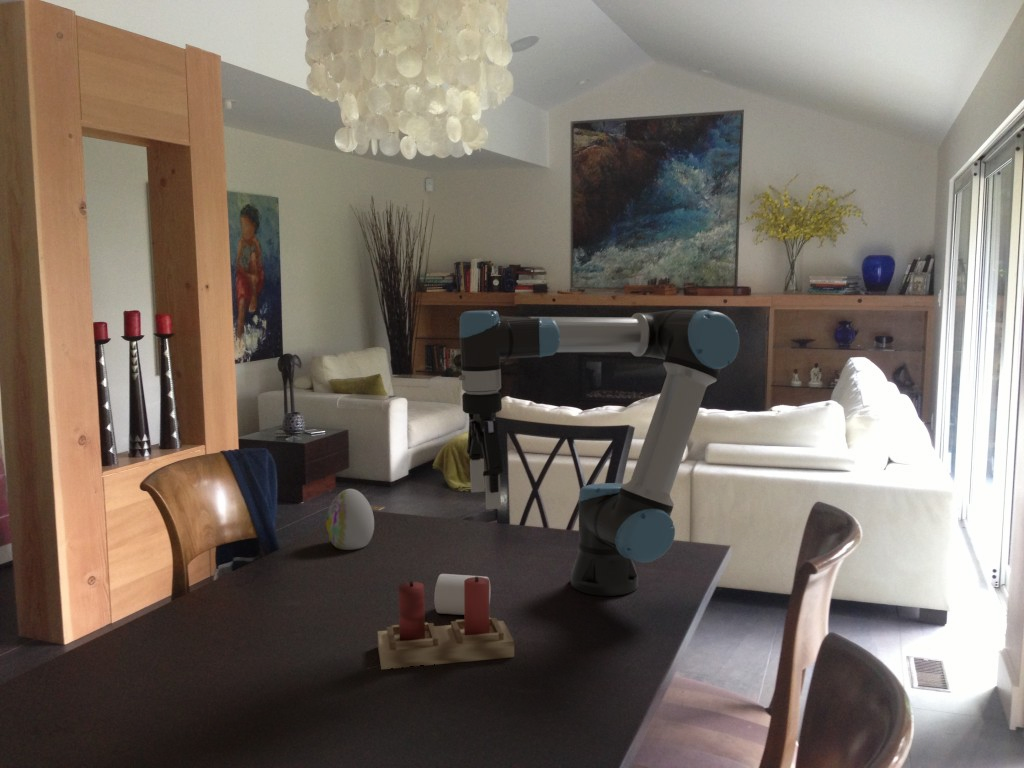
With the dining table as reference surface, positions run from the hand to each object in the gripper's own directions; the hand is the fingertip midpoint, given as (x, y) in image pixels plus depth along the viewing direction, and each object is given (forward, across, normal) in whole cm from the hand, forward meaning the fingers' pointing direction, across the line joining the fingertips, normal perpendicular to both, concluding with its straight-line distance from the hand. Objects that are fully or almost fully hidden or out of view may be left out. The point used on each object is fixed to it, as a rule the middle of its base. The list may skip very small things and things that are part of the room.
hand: (485, 499), depth 169 cm
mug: (+26, -10, -3) cm, 28 cm away
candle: (+23, +10, -5) cm, 25 cm away
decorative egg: (+26, -62, -23) cm, 71 cm away
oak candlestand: (+26, +9, -11) cm, 29 cm away
